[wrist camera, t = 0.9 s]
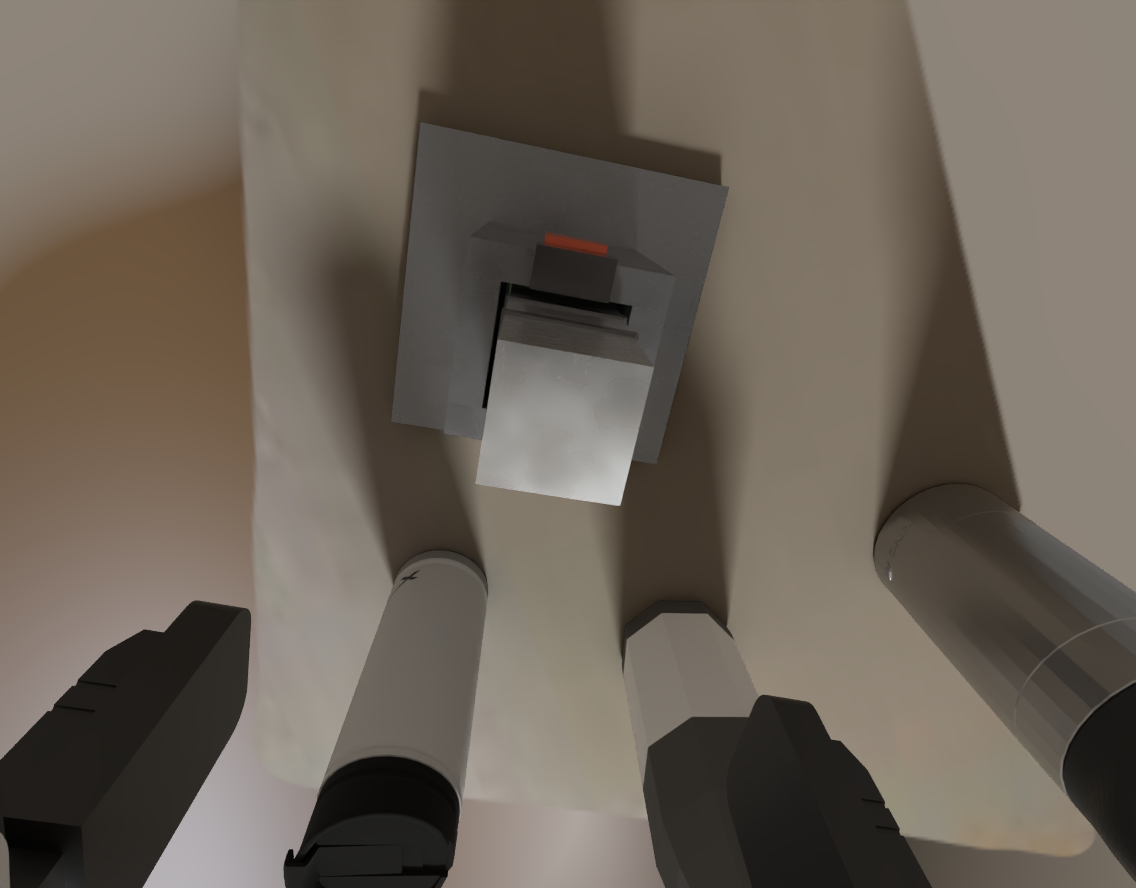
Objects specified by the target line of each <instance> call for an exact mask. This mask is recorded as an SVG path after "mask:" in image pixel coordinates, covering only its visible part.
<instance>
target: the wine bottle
mask: <svg viewBox="0 0 1136 888" xmlns="http://www.w3.org/2000/svg"><path fill="white" fill-rule="evenodd" d="M622 670H623V677H624V682H625V688H626V694H627V700H628V705H629V711H630V717H631V723H632V728H633V734H634V740H635V746H636V751H637V757H638V763H639V769H640V774H641V780H642V786H643V792H644V797H645V803H646V809H647V815H648V820H649V826H650V832H651V837H652V843H653V848H654V855H655V860H656V866H657V868H658V871H659V873H660V876H661V878H662V880H663V883H664V885H665V888H752V886H751V882H750V879H749V875H748V872H747V868H746V865H745V861H744V858H743V855H742V851H741V848H740V844H739V841H738V837H737V834H736V830H735V827H734V824H733V820H732V817H731V813H730V810H729V806H728V801H727V788H726V786H727V773H728V768H729V764H730V762H731V759H732V757H733V754H734V752H735V749H736V747H737V744H738V742H739V740H740V737H741V735H742V732H743V730H744V727H745V725H746V723H747V720H748V718H749V715H750V713H751V710H752V708H753V706H754V703H755V701H756V700H757V699H758V698H759V696H758V694H757V692H756V690H755V687H754V685H753V683H752V680H751V678H750V676H749V673H748V671H747V669H746V666H745V664H744V662H743V659H742V657H741V655H740V652H739V650H738V648H737V645H736V643H735V641H734V639H733V636H732V634H731V633H730V631H729V630H728V628H727V627H726V626H725V625H724V624H723V623H722V622H721V621H720V620H719V619H718V618H717V617H716V616H715V615H714V614H713V613H712V612H711V611H710V610H709V609H708V608H707V607H706V606H705V605H704V604H703V603H702V602H701V601H657V602H656V603H655V604H654V605H652V606H651V607H650V608H648V609H647V610H646V611H644V612H643V613H642V614H640V615H639V616H638V617H636V618H635V619H634V620H632V621H631V622H630V623H628V624H627V625H626V627H625V637H624V647H623V657H622Z"/></svg>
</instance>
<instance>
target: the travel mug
mask: <svg viewBox="0 0 1136 888" xmlns="http://www.w3.org/2000/svg"><path fill="white" fill-rule="evenodd" d="M487 598H488V585H487V582H486V578H485V576H484V574H483V573H482V571H481V570H480V569H479V567H478V566H477V565H476V564H475V563H474V562H472V561H471V560H470V559H468V558H466V557H464V556H463V555H461V554H458V553H454V552H451V551H444V550H437V551H429V552H424V553H421V554H419V555H416V556H414V557H413V558H411V559H410V560H408V561H407V562H406V563H405V564H404V565H403V566H402V567H401V569H400V571H399V572H398V574H397V577H396V580H395V582H394V585H393V588H392V591H391V593H390V596H389V599H388V602H387V604H386V607H385V610H384V613H383V615H382V618H381V621H380V624H379V627H378V629H377V632H376V635H375V638H374V640H373V643H372V646H371V649H370V651H369V654H368V657H367V660H366V663H365V665H364V668H363V671H362V674H361V676H360V679H359V682H358V685H357V688H356V690H355V693H354V696H353V699H352V701H351V704H350V707H349V710H348V712H347V715H346V718H345V721H344V724H343V726H342V729H341V732H340V735H339V737H338V740H337V743H336V746H335V748H334V751H333V754H332V757H331V760H330V762H329V765H328V768H327V771H326V773H325V776H324V779H323V782H322V784H321V787H320V790H319V793H318V796H317V802H316V805H315V808H314V811H313V814H312V816H311V819H310V822H309V825H308V828H307V831H306V833H305V836H304V839H303V842H302V845H301V847H300V850H299V852H298V854H297V855H296V857H295V859H294V854H293V849H290V850H289V851H288V853H287V855H286V859H285V862H284V880H285V887H286V888H441V887H442V885H443V883H444V881H445V880H446V878H447V876H448V870H449V869H450V868H451V867H452V866H453V860H454V855H455V847H456V840H457V828H458V823H459V820H460V815H461V810H462V799H463V794H464V786H465V777H466V769H467V761H468V753H469V745H470V737H471V728H472V720H473V712H474V704H475V696H476V688H477V679H478V671H479V663H480V655H481V647H482V639H483V630H484V622H485V614H486V605H487Z"/></svg>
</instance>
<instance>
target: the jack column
mask: <svg viewBox="0 0 1136 888" xmlns="http://www.w3.org/2000/svg"><path fill="white" fill-rule="evenodd" d="M626 323H627V317H626V316H625V315H621V314H620V313H619V311H618V310H617V308H616V306H615V305H614V303H613V302H609V303H604V302H598V301H593V300H588V299H582V298H577V297H572V296H566V295H561V294H556V293H550V292H545V291H539V290H534V289H529V286H524V285H518V284H513V283H510V288H509V294H506V299H505V305H504V308H502V312H501V319H500V325H499V332H498V338H497V345H496V351H495V358H494V364H493V371H492V377H491V384H490V390H489V397H488V403H487V410H486V416H485V423H484V429H483V436H482V445H481V451H480V458H479V464H478V471H477V478H476V484H479V485H485V486H492V487H498V488H505V489H511V490H518V491H525V492H531V493H538V494H544V495H551V496H557V497H564V498H570V499H577V500H583V501H590V502H597V503H603V504H610V505H616V506H620V504H621V500H622V496H623V492H624V488H625V484H626V480H627V476H628V472H629V468H630V464H631V460H632V456H633V451H634V447H635V443H636V439H637V435H638V431H639V427H640V423H641V419H642V415H643V411H644V407H645V403H646V399H647V394H648V390H649V386H650V382H651V378H652V374H653V370H654V366H653V365H652V363H651V361H650V360H649V358H648V357H647V355H646V354H645V352H644V350H643V349H642V347H641V346H640V344H639V343H638V338H639V335H638V333H637V332H633V331H631V330H630V328H629V327H628V325H627V324H626Z"/></svg>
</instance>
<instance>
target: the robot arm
mask: <svg viewBox="0 0 1136 888" xmlns="http://www.w3.org/2000/svg"><path fill="white" fill-rule="evenodd" d="M874 562H875V567H876V571H877V573H878V575H879V577H880V579H881V581H882V582H883V584H884V585H885V586H886V587H887V588H888V589H889V591H890V592H891V593H892V594H893V595H894V596H895V598H896V599H897V600H898V601H899V602H900V603H901V605H902V606H903V607H904V608H905V609H906V610H907V612H908V613H909V614H910V615H911V616H912V618H913V619H914V620H915V621H916V623H917V624H918V625H919V626H920V627H921V628H922V630H923V631H924V632H925V633H926V634H927V635H928V636H929V638H930V639H931V640H932V641H933V642H934V643H935V645H936V646H937V647H938V648H939V649H940V650H941V652H942V653H943V654H944V655H945V656H946V657H947V658H948V660H949V661H950V662H951V663H952V664H953V665H954V667H955V668H956V669H957V670H958V671H959V672H960V674H961V675H962V676H963V677H964V678H965V679H966V680H967V682H968V683H969V684H970V685H971V686H972V687H973V689H974V690H975V691H976V692H977V693H978V694H979V696H980V697H981V698H982V699H983V700H984V701H985V702H986V704H987V705H988V706H989V707H990V708H991V709H992V711H993V712H994V713H995V714H996V715H997V716H998V718H999V719H1000V720H1001V721H1002V722H1003V723H1004V724H1005V726H1006V727H1007V728H1008V729H1009V730H1010V731H1011V733H1012V734H1013V735H1014V736H1015V737H1016V738H1017V740H1018V741H1019V742H1020V743H1021V744H1022V745H1023V746H1024V748H1025V749H1027V751H1028V752H1029V753H1030V754H1031V755H1032V756H1033V758H1034V759H1035V760H1036V761H1037V762H1038V763H1039V765H1040V766H1041V767H1042V768H1043V769H1044V770H1045V772H1046V773H1047V774H1048V775H1049V776H1050V777H1051V778H1052V780H1053V781H1054V782H1055V783H1056V784H1057V785H1058V787H1059V788H1060V789H1061V790H1062V791H1063V792H1064V793H1065V795H1066V796H1067V797H1068V798H1069V799H1070V800H1071V801H1072V802H1073V804H1074V805H1075V806H1076V807H1077V808H1078V809H1079V811H1080V812H1081V813H1082V814H1083V815H1084V816H1085V818H1086V819H1087V820H1088V821H1089V822H1090V823H1091V824H1092V826H1093V827H1094V828H1095V829H1096V831H1097V832H1098V833H1099V835H1100V836H1101V838H1102V839H1103V841H1104V842H1105V843H1106V845H1107V846H1108V848H1109V849H1110V850H1111V852H1112V853H1113V855H1114V856H1115V857H1116V858H1117V860H1118V861H1119V862H1120V863H1121V865H1122V866H1123V867H1124V869H1125V870H1126V871H1127V872H1128V874H1129V875H1130V876H1131V877H1132V878H1133V880H1134V881H1135V882H1136V592H1135V591H1133V590H1132V589H1130V588H1129V587H1127V586H1126V585H1124V584H1123V583H1122V582H1120V581H1119V580H1117V579H1116V578H1114V577H1113V576H1111V575H1110V574H1108V573H1107V572H1105V571H1104V570H1102V569H1101V568H1100V567H1098V566H1097V565H1095V564H1094V563H1092V562H1091V561H1089V560H1088V559H1086V558H1085V557H1083V556H1082V555H1081V554H1079V553H1078V552H1076V551H1075V550H1073V549H1072V548H1070V547H1069V546H1067V545H1066V544H1064V543H1063V542H1061V541H1060V540H1059V539H1057V538H1056V537H1054V536H1052V535H1051V534H1049V533H1048V532H1047V531H1045V530H1044V529H1042V528H1041V527H1039V526H1038V525H1037V524H1035V523H1034V522H1033V521H1031V520H1029V519H1028V518H1027V517H1025V516H1024V515H1022V514H1021V513H1019V512H1018V511H1016V510H1015V509H1013V508H1012V507H1011V506H1009V505H1008V504H1006V503H1005V502H1003V501H1002V500H1000V499H999V498H997V497H996V496H994V495H993V494H991V493H990V492H989V491H986V490H984V489H982V488H980V487H977V486H973V485H967V484H947V485H942V486H937V487H933V488H931V489H928V490H926V491H923V492H921V493H919V494H917V495H915V496H914V497H912V498H911V499H909V500H907V501H906V502H905V503H903V504H902V505H901V506H900V507H899V508H898V509H897V510H895V511H894V513H893V514H892V515H891V516H890V517H889V519H888V520H887V521H886V522H885V524H884V526H883V528H882V530H881V531H880V533H879V535H878V539H877V542H876V545H875V553H874ZM250 631H251V614H250V611H249V610H248V609H246V608H241V607H235V606H228V605H222V604H216V603H210V602H203V601H193V602H191V603H190V604H189V605H188V606H187V607H186V608H185V609H184V610H183V612H182V613H181V614H180V615H179V616H178V617H177V618H176V619H175V621H174V622H173V623H172V624H171V625H170V626H169V628H168V629H167V630H166V631H165V632H164V633H163V632H157V631H151V630H143V631H141V632H139V633H137V634H135V635H134V636H132V637H130V638H128V639H126V640H125V641H123V642H121V643H119V644H118V645H116V646H114V647H112V648H110V649H109V650H107V651H105V652H104V653H103V654H102V656H101V657H100V658H99V659H98V660H97V661H96V662H95V663H94V664H93V665H92V666H91V667H90V668H89V669H88V670H87V671H86V672H85V673H84V674H83V675H82V676H81V677H80V678H79V679H78V682H77V684H76V686H72V687H71V688H70V689H69V690H68V691H67V692H66V693H65V694H64V695H63V696H62V697H61V698H60V699H59V700H58V701H57V702H56V703H55V704H54V707H53V710H52V711H47V712H46V714H44V716H43V717H42V718H41V719H40V720H39V721H38V722H37V723H36V724H35V725H34V726H33V727H32V728H31V729H30V730H29V731H28V732H27V733H26V734H25V735H24V736H23V737H22V738H21V739H20V740H19V741H18V743H16V744H15V746H14V747H13V748H12V749H11V750H10V751H9V752H8V753H7V754H6V755H5V756H4V757H3V758H2V759H1V760H0V888H142V887H143V886H144V884H145V882H146V881H147V879H148V877H149V875H150V874H151V872H152V870H153V869H154V867H155V865H156V863H157V862H158V860H159V858H160V857H161V855H162V853H163V851H164V850H165V848H166V846H167V845H168V843H169V841H170V840H171V838H172V836H173V834H174V833H175V831H176V829H177V828H178V826H179V824H180V822H181V821H182V819H183V817H184V816H185V814H186V812H187V811H188V809H189V807H190V805H191V804H192V802H193V800H194V799H195V797H196V795H197V793H198V792H199V790H200V788H201V786H202V785H203V783H204V781H205V780H206V778H207V776H208V775H209V773H210V771H211V769H212V768H213V766H214V764H215V763H216V761H217V759H218V758H219V756H220V754H221V752H222V751H223V749H224V747H225V746H226V744H227V742H228V741H229V739H230V737H231V735H232V733H233V732H234V730H235V727H236V725H237V723H238V721H239V718H240V715H241V712H242V709H243V706H244V702H245V698H246V693H247V683H248V664H249V648H250ZM726 788H727V801H728V806H729V810H730V813H731V817H732V820H733V824H734V827H735V830H736V834H737V837H738V841H739V844H740V848H741V851H742V855H743V858H744V861H745V865H746V868H747V872H748V875H749V879H750V882H751V886H752V888H932V887H931V885H930V883H929V881H928V880H927V878H926V876H925V874H924V872H923V870H922V869H921V867H920V865H919V863H918V861H917V860H916V858H915V856H914V854H913V852H912V850H911V849H910V847H909V845H908V843H907V841H906V839H905V838H904V836H900V833H899V830H900V828H899V827H898V825H897V823H896V821H895V819H894V818H893V816H892V814H891V812H890V810H889V809H888V808H885V801H884V799H883V798H882V796H881V794H880V792H879V790H878V788H877V787H876V785H875V783H874V781H873V779H872V777H871V776H870V774H869V772H868V770H867V769H866V768H865V767H864V766H863V765H862V764H861V763H860V762H859V761H858V759H857V758H856V757H855V756H854V755H853V754H852V753H851V752H850V751H849V750H848V749H847V748H846V747H845V745H844V744H843V743H842V742H841V741H837V740H831V739H830V737H829V735H828V733H827V731H826V729H825V727H824V725H823V723H822V721H821V719H820V717H819V715H818V713H817V711H816V710H815V708H814V707H813V705H812V704H810V703H809V702H806V701H800V700H794V699H788V698H782V697H775V696H769V695H761V696H760V697H759V698H758V699H757V700H756V701H755V703H754V706H753V708H752V710H751V713H750V715H749V718H748V720H747V723H746V725H745V727H744V730H743V732H742V735H741V737H740V740H739V742H738V744H737V747H736V749H735V752H734V754H733V757H732V759H731V762H730V764H729V768H728V773H727V786H726Z"/></svg>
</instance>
